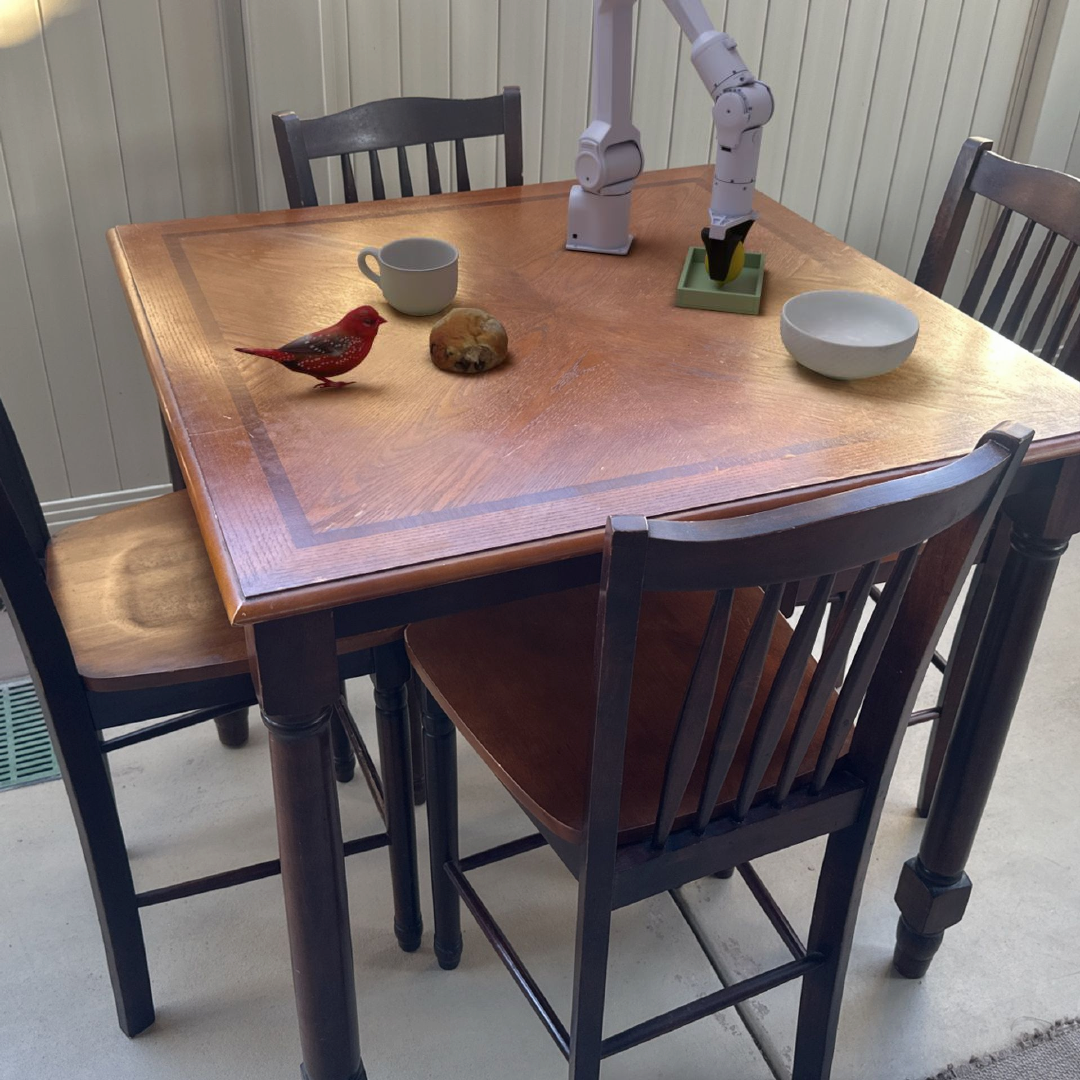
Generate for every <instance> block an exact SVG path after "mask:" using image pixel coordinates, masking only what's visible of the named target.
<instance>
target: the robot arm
mask: <svg viewBox="0 0 1080 1080" xmlns="http://www.w3.org/2000/svg"><path fill="white" fill-rule="evenodd" d="M637 1H638V0H593V36H592V37H593V41H592V44H593V47H592V48H593V49H592V54H593V56H592V57H593V59H592V61H593V62H592V122H591V123H590V124H589V126H588V127H587V128H586V129H585V130H584V132H583V133H582V134H581V135H580V137H579V139H578V149H577V154H576V156H575V159H574V174H575V177H576V179H577V182H578V183H579V184H574V185H572V186H571V189H570V191H569V193H570V194H569V198H568V208H567V225H566V226H567V230H566V244H565V249H566V250H574V251H581V252H582V251H583V252H593V253H601V254H602V253H603V254H611V255H621V256H625V255H627V254H628V251H629V249H630V247H631V244H632V242H633V240H634V236H633V235H632V234H629V231H630V218H631V203H632V189H633V188H634V187H635V186H636V180H637V179H638V178H640V176H642V174H643V172H644V168H645V154H644V151H643V149H642V143H641V131H640V130H639V129H638V128H637V127H636V125H634V124H633V123H632V122H631V102H632V101H631V99H632V96H631V95H632V57H633V56H632V55H633V52H632V51H633V18H634V17H633V16H634V11H633V10H634V5H635V4H636V3H637ZM662 2H663V3H664V5H665V6H666V8H667V9H668V11H669V12H670V14H671V15H672V17H673V19H674V21H676V23H677V24H678V26H679V27H680V29H681V30H682V32H683V33H684V35H685V37H686V38H687V40H688V41H689V43H690V45H691V46H692V47H691V53H690V57H689V58H690V62H691V64H692V66H693V67H694V70H695V71H696V73H697V75H698V76H699V78H700V80H701V82H702V83H703V85H704V87H705V89H706V90H707V92H708V94H709V96H710V97H711V99H712V101H713V103H714V104H715V105H712V106H711V116H712V117H711V118H712V120H713V124H714V125H715V128H716V135H715V140H717V141H716V143H717V146H716V154H715V162H714V163H715V165H714V172H713V179H712V180H713V181H712V189H711V198H710V205H709V207H708V211H707V212H708V213H707V214H708V217H709V221H710V226H709V227H706V226H705V227H703V228H702V229H701V231H700V238H701V241H702V243H703V246H704V247H705V248H706V252H707V257H708V266H709V275H710V279H711V280H716V281H722V282H724V281H725V279H726V277H727V275H728V272H729V268H730V264H731V261H732V257H733V255H734V252H735V250H736V247H737V246H738V244H739V242H740V241H741V242H742V244H743V245H744V243H745V241H746V238H747V236H748V234H749V232H750V230H751V229H752V227H753V225H754V223H755V222H756V221H757V220H758V219H759V218H760V216H761V212H760V211H759V210H754V209H753V204H754V197H755V196H754V195H755V188H756V183H757V182H756V181H757V175H758V166H759V159H760V153H761V146H762V137H763V130H764V126H765V125H767V124H768V123H769V122H770V121H771V120H772V118H773V116H774V112H775V106H776V104H775V103H776V102H775V97H774V94H773V92H772V89H771V87H770V85H768V83H766V82H764V81H762V80H759V79H757V78H756V76H755V75H753V73H752V72H751V71H750V70H749V69H748V67H747V65H746V64H745V62H744V60H743V58H742V56H741V54H740V53H739V51H738V49H737V47H738V43H737V41H736V40H735V38H734V37H730V35H729V33H727V32H723V31H719V30H716V29H715V27H714V24H713V23H712V20H711V18H710V15H708V11H707V10H706V8H705V5H704V3H703V1H702V0H662Z"/></svg>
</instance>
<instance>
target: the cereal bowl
mask: <svg viewBox="0 0 1080 1080" xmlns="http://www.w3.org/2000/svg"><path fill="white" fill-rule="evenodd" d="M779 322H780V323H779V330H780V331H779V332H780V333H779V334H780V338H781V342H782V344H783V345H784V349H785V350H786V351H787V353H788V354H789V355H790V356H791V357H792V358H793V359H794V361H797V363H799V364H801V365H802V366H804V367H806V368H808V369H809V370H812V371H814V372H816V373H817V374H819V375H821V376H824V377H826V378H830V379H834V380H837V381H858V380H859V381H860V380H863V379H867V378H868V379H869V378H875V377H878V376H882V375H884V374H885V375H886V374H889V373H891V372H892V371H895V370H896V369H897V368H899V367H901V365H903V364H904V363H905V362H906V361H907V360H908V359H909V357H910V356H911V354H912V353H913V351H914V349H915V346H916V344H917V340H918V338H919V333H920V320H919V318H918V317H917V315H916V314H915V313H914V311H912V310H911V309H910V308H908V307H907V306H905V305H903V304H901V303H900V302H897V301H895V300H892V299H890V298H887V297H884V296H882V295H878V294H874V293H869V292H863V291H857V290H849V289H848V290H847V289H820V290H812V291H807V292H803V293H800V294H797V295H795V296H793V297H791V298H789V299H788V300H787V301H786V302H785V303H784V304H783V306H782V310H781V313H780V321H779Z"/></svg>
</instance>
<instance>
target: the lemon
mask: <svg viewBox="0 0 1080 1080" xmlns="http://www.w3.org/2000/svg"><path fill="white" fill-rule="evenodd" d="M744 251H745V247H744V244H742V242H741V241H740V242H739V244H738V246H737V247H736V250H735V252H734V255H733V257H732V261H731V264H730V268H729V272H728V275H727V277H726V279H725V281H724V282H722V281H716V280H714V281H716V282H717V283H718V284H719V286H724V285H725V284H726V283H729V282H731V281H733V280H735V279H736V278H737V277H738V276H739V274H740V273H741V271H742V269H743V265H744V259H745V255H744ZM705 268H706V271H707V273H708V275H709V266H708V257H707V252H706V256H705ZM709 277H710V275H709Z"/></svg>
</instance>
